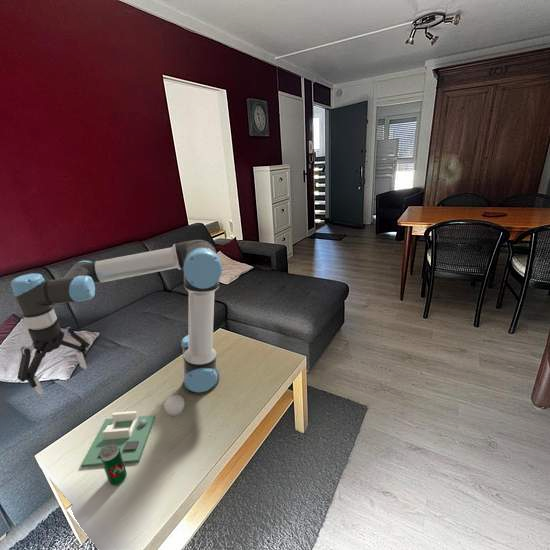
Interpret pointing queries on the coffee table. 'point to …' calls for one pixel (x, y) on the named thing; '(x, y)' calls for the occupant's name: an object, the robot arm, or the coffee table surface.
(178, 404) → the seamed sphere
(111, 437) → the board
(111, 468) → the soda can
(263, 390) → the coffee table surface
